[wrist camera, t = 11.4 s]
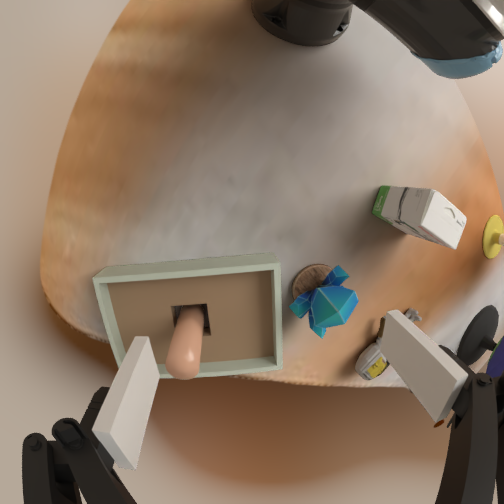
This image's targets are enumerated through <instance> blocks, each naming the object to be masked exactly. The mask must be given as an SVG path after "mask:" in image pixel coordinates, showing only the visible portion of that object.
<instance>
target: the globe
mask: <svg viewBox="0 0 504 504" xmlns="http://www.w3.org/2000/svg"><path fill="white" fill-rule="evenodd" d="M498 318H499V315H498V311H497V310H496V308H495V307H494V306H492V305H490V306H486V307H485V308H483V309H482V310H481V311H480V312H479V313H478V314H477V315H476V316H475V317H474V319H473V320H472V322H471V323H470V324H469V326H468V328H467V329H466V331H465V333H464V335H463V337H462V340H461V342H460V345H459V348H458V353H457V357H458V358H459V360H461V361H463V362H464V363H465V364H466V365H467V366H469V365H471V364H473V363H474V362H476V361H477V360H478V359H479V358H480V357H481V356H482V355H483V354H484V353H485V351H486V350H487V349H488V350H491V351H493V352H492V354H491V356H490V359H489V362H488V366H487V371H486V374H488V375H490V376H491V377H492V378H494V377H498V376H501V374H502V372H503V370H504V336H503V337H502V338H501V340H500V341H499V342H498V344H496V343H495V342H494V341H493V338H494V335H495V332H496V329H497V326H498Z"/></svg>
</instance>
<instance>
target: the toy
mask: <svg viewBox="0 0 504 504" xmlns="http://www.w3.org/2000/svg"><path fill="white" fill-rule="evenodd" d="M417 314H418V311H417V310H414V309H412V308H410V309H408V311H407V312H406V313H405V316H406V317H407V318H409V317H410V316H411V317H410V318H409V320H410V321H411V322H412V323H413V322H414V321H415V320H418V321H421V319H422V318H421V317H420V316H418V315H417ZM385 320H386V316H384V317H382V318H381V321H380V328H379V331H378V335H377V336H378V338H377V340H376V343H372V344H371V345H370V346H369V347H367V348H366V349H365V350H364V351H363V352H362V354H361V355H360V356H359V358H358V360H357V362H356V365H355V370H356V372H357V373H358V374H359V375H360V376H361V377H362V378H363V379H365V380H371V379H373V378H375V377H377V376H379V375H381V374H382V373H383V371H384V370H385V369H386V368H387V367H388V366H389V365H390V363H389V362H388V360H387V359H386V358H385V357H384V355H383V354H382V353H381V352H380V346H381V341H382V336H383V331H384V326H385Z"/></svg>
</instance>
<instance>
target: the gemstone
mask: <svg viewBox="0 0 504 504" xmlns="http://www.w3.org/2000/svg"><path fill="white" fill-rule="evenodd" d="M348 277H349V275H348V274H347V273H346V272H345V271H344V270H343V269H342V268H341V267H340V266H339V265H338V266H337V267H336V268H334V269H333V270H332V269H331V268H330V267H328V266H326V265H323V264H313V265H310V266H308V267H306V268H304V269H303V270H301V271H300V272H299V273H298V275H297V276H296V278H295V279H294V282H293V285H292V295H293V298H294V300H295V301H294V303H292V304H291V305H290V306H289V308H290V309H291V310H292V311H293V312H294V314H295V315H296V316H297V317H298V318H302V317H303V316H304V315H305V314H306V313H307V312H308V311H309V324H310V328H311V329H312V330H313V331H314V332H315V333H316V334H317V335H318V336H320V337H321V338H323V336H324V334H325V332H326V328H327V327H332V326H337V325H342V324H345V323H346V321H347V320H348V318H349V316H350V315H351V313H352V312H353V310H354V308H355V306H356V305H357V303H358V301H359V300H358V298H357V295H356V293H355V291H354V290H350V289H347V288H344V287H343V286H340V285H341V284H342V283H343V281H345V280H346V279H347V278H348Z"/></svg>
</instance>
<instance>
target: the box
mask: <svg viewBox="0 0 504 504" xmlns="http://www.w3.org/2000/svg"><path fill="white" fill-rule="evenodd" d="M92 279H93V284H94V288H95V292H96V296H97V300H98V304H99V308H100V311H101V315H102V319H103V322H104V325H105V329H106V332H107V335H108V338H109V342H110V345H111V348H112V350H113V353H114V356H115V359H116V361H117V365H118V367H119V368H120V366H121V364H122V362H123V360H124V358H125V356H126V354H127V352H128V350H129V348H130V346H131V344H132V342H133V340H134V338H135V336H148V337H149V340H150V344H151V348H152V351H153V354H154V358H155V361H156V364H157V368H158V371H159V374H160V377H159V378H175V377H173V376H171V375H170V374H169V373H168V371H167V370H166V367H165V362H166V358H167V355H168V351H169V348H170V344H171V341H172V337H173V334H174V330H175V327H176V324H177V317H176V312H175V306H178V305H193V304H206V303H207V309H208V316H209V323H210V327H204V328H203V336H202V346H201V356H200V366H199V372H198V374H197V375H196V376H195V377H211V376H225V375H237V374H247V373H256V372H265V371H272V370H280V369H283V360H282V302H281V268H280V261H279V260H278V259H277V257H276V256H275V255H274V253H262V254H250V255H239V256H227V257H216V258H204V259H192V260H181V261H169V262H157V263H145V264H134V265H122V266H110V267H105V268H104V269H103V270H102V271H100V272H99V273H98V274H96V275H95V276H94V277H93V278H92Z"/></svg>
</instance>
